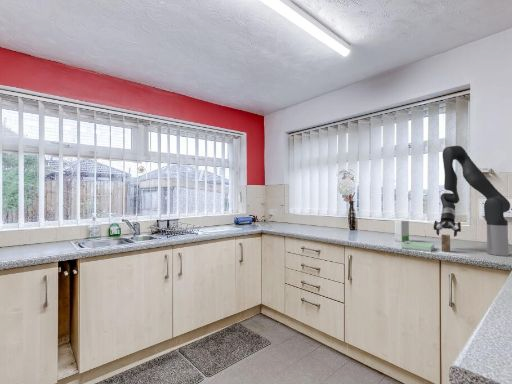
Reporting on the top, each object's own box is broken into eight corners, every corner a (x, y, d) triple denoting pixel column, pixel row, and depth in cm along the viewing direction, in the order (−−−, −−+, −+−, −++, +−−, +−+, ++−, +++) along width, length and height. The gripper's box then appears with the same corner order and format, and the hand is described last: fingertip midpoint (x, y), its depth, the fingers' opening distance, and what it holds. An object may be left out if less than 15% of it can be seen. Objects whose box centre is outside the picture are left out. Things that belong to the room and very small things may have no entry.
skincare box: (401, 242, 202) (401, 221, 202) (394, 240, 208) (393, 220, 209) (409, 241, 205) (409, 220, 206) (401, 240, 211) (401, 220, 212)
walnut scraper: (450, 251, 168) (450, 235, 168) (449, 252, 165) (449, 235, 165) (442, 250, 170) (442, 234, 171) (441, 251, 167) (441, 235, 168)
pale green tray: (434, 248, 177) (433, 243, 177) (430, 251, 166) (430, 246, 166) (406, 245, 187) (406, 241, 187) (401, 248, 177) (401, 243, 177)
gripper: (434, 211, 182) (432, 230, 174) (461, 212, 173) (460, 232, 164) (435, 219, 186) (433, 237, 178) (461, 220, 177) (460, 240, 168)
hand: (446, 235), depth 171 cm, fingers open, 8 cm apart
